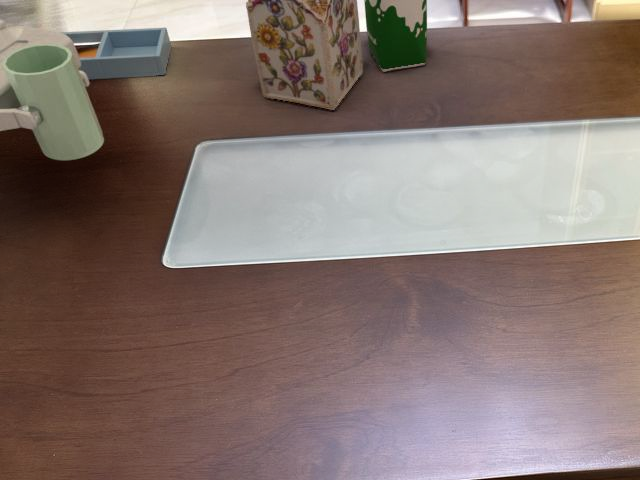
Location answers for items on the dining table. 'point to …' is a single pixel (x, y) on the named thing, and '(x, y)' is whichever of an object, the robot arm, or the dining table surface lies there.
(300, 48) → the decorative jar
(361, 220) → the dining table surface
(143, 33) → the divided tray
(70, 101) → the cup
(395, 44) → the milk carton
